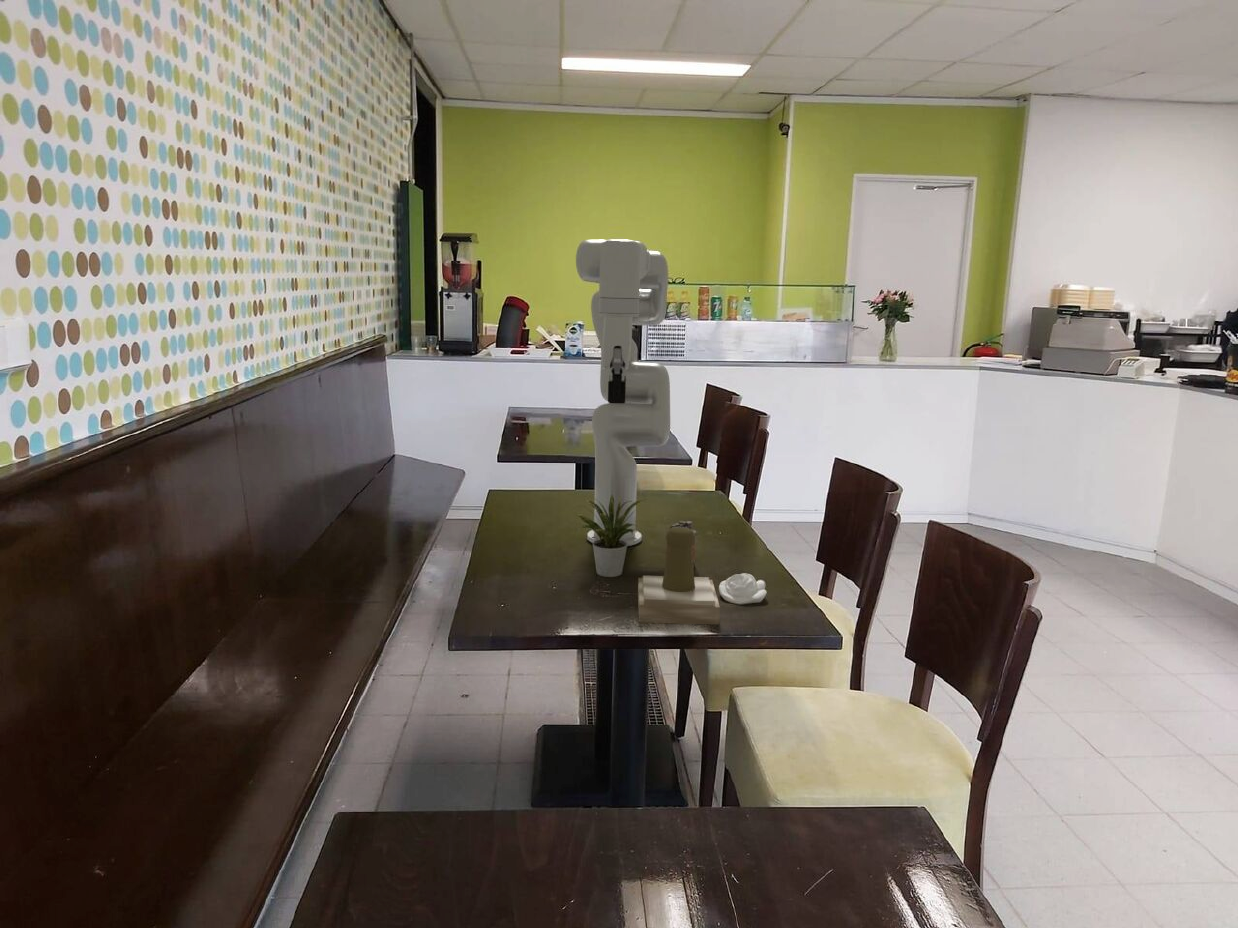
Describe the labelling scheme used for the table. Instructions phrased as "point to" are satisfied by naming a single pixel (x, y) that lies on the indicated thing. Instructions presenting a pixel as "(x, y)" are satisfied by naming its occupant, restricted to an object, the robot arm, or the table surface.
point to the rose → (742, 589)
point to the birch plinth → (677, 602)
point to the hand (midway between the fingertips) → (616, 399)
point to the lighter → (687, 525)
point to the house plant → (609, 538)
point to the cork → (679, 560)
